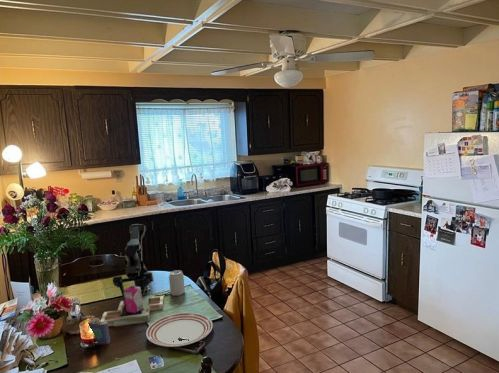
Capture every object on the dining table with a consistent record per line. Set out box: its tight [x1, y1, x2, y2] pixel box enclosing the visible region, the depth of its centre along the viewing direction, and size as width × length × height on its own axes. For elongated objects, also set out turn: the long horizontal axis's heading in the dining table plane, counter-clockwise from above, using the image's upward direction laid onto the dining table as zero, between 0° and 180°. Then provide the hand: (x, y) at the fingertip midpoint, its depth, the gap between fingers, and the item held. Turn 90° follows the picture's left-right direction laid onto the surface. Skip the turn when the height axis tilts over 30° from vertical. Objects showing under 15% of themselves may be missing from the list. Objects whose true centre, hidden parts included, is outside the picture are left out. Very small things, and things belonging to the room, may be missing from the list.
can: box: [168, 269, 186, 297], centre depth 197 cm, size 8×8×12 cm
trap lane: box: [99, 295, 165, 327], centre depth 179 cm, size 22×27×3 cm
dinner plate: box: [145, 312, 214, 348], centre depth 157 cm, size 27×27×3 cm
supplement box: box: [124, 285, 144, 315], centre depth 181 cm, size 6×6×12 cm
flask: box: [87, 317, 111, 346], centre depth 154 cm, size 9×3×11 cm, turn 74°
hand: (133, 295), depth 180 cm, fingers open, 9 cm apart
